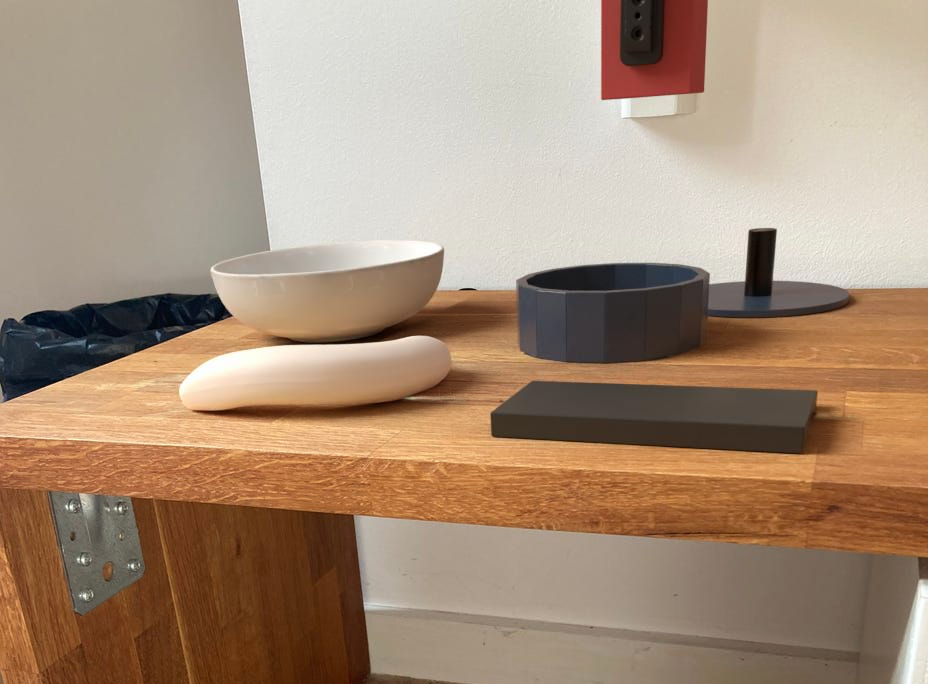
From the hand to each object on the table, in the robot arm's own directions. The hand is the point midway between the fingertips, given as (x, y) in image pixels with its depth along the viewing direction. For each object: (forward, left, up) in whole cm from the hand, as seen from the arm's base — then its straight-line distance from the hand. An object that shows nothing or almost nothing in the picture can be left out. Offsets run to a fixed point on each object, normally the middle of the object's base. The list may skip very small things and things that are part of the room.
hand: (651, 63), depth 57 cm
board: (-2, +4, -19) cm, 20 cm away
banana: (+23, 0, -20) cm, 30 cm away
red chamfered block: (0, 0, -2) cm, 2 cm away
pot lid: (-3, -35, -19) cm, 39 cm away
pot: (+6, -17, -19) cm, 26 cm away
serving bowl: (+33, -21, -20) cm, 44 cm away
